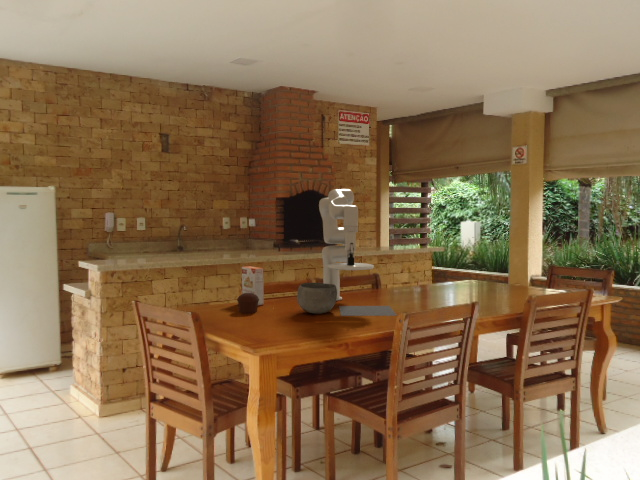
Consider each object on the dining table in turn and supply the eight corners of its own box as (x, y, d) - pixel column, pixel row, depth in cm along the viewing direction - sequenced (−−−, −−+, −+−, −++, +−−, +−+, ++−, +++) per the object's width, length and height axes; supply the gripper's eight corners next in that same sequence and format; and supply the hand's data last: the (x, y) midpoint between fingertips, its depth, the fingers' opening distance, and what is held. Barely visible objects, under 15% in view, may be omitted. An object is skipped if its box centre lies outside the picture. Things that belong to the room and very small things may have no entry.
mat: (338, 307, 325) (338, 306, 325) (389, 306, 325) (389, 305, 325) (341, 316, 297) (341, 315, 297) (397, 316, 297) (397, 315, 297)
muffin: (256, 309, 317) (256, 291, 317) (262, 313, 307) (261, 294, 306) (234, 311, 313) (234, 292, 312) (239, 314, 303) (239, 295, 302)
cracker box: (241, 302, 338) (241, 266, 337) (250, 301, 342) (250, 265, 341) (255, 306, 328) (254, 268, 326) (264, 305, 331) (264, 267, 330)
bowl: (291, 315, 300) (291, 286, 299) (304, 308, 319) (304, 281, 318) (330, 318, 294) (330, 287, 293) (341, 310, 313) (341, 282, 312)
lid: (326, 265, 319) (326, 253, 319) (370, 264, 321) (370, 253, 320) (329, 270, 296) (329, 257, 295) (376, 270, 297) (377, 257, 296)
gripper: (342, 228, 315) (342, 263, 316) (344, 230, 298) (344, 266, 299) (356, 228, 315) (356, 262, 316) (359, 230, 299) (359, 266, 300)
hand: (350, 264), depth 308 cm, fingers closed on lid, 4 cm apart
